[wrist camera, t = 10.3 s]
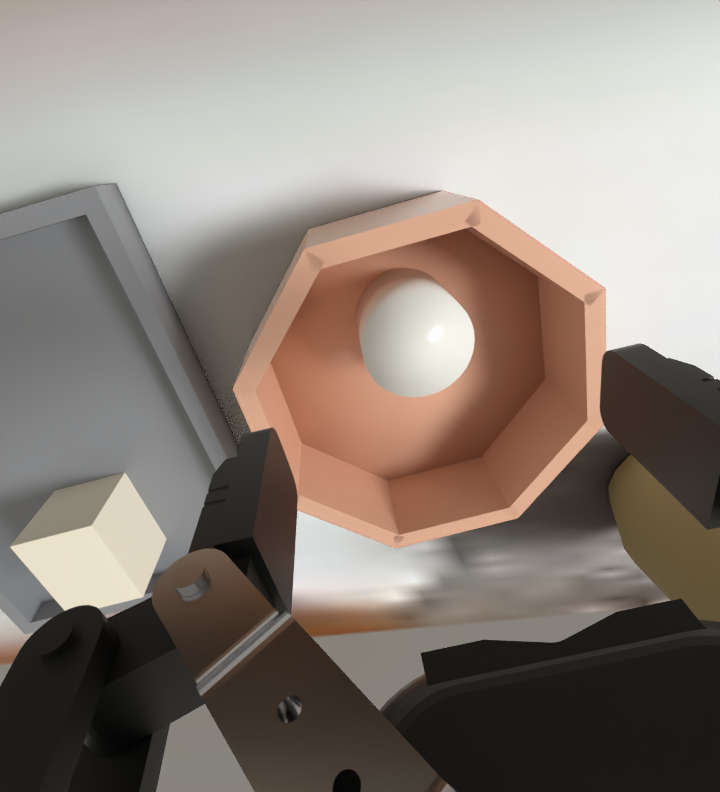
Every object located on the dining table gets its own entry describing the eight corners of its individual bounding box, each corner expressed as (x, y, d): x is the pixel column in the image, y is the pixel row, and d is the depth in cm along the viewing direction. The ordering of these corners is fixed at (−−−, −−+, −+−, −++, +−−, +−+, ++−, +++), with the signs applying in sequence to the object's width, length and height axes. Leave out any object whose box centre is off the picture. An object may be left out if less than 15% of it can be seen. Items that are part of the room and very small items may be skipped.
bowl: (215, 255, 20) (185, 282, 16) (540, 162, 20) (605, 163, 15) (313, 502, 27) (311, 569, 23) (558, 439, 26) (606, 496, 22)
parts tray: (-238, 288, 19) (-294, 301, 18) (116, 183, 19) (94, 185, 17) (43, 605, 29) (25, 634, 27) (284, 545, 28) (281, 570, 27)
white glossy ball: (344, 283, 20) (349, 308, 17) (440, 256, 20) (465, 276, 17) (368, 369, 22) (377, 409, 19) (455, 346, 22) (481, 381, 19)
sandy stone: (54, 490, 25) (9, 546, 21) (124, 472, 24) (91, 525, 21) (102, 555, 27) (68, 615, 23) (166, 538, 27) (143, 597, 23)
